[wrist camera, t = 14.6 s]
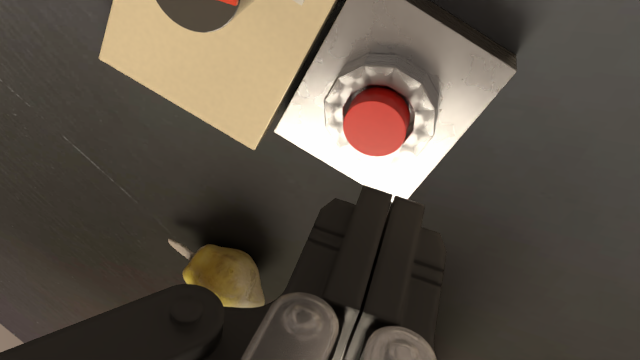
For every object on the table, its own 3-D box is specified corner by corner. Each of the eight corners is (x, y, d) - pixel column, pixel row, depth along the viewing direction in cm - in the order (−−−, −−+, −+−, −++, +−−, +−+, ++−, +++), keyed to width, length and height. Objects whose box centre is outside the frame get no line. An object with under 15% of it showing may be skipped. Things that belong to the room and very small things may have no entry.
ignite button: (368, 75, 31) (362, 88, 30) (422, 108, 31) (418, 123, 30) (339, 121, 33) (331, 135, 32) (389, 151, 33) (384, 167, 32)
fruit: (180, 207, 46) (283, 262, 45) (184, 241, 51) (278, 292, 50) (136, 260, 43) (246, 322, 41) (145, 291, 48) (244, 348, 46)
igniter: (369, -38, 31) (354, -19, 28) (516, 55, 32) (518, 84, 29) (283, 116, 38) (264, 145, 35) (404, 188, 39) (396, 224, 36)
